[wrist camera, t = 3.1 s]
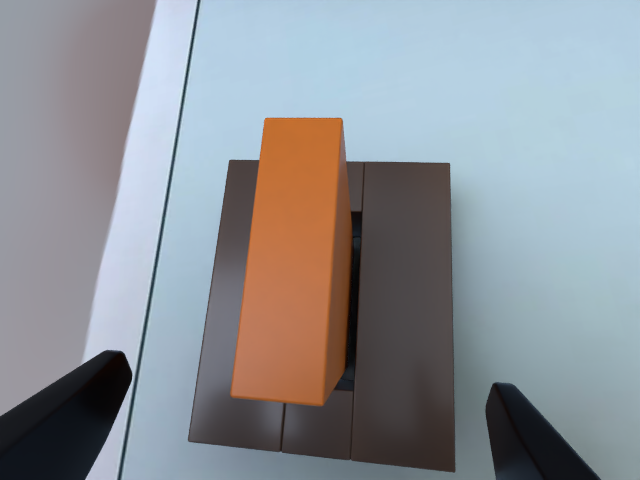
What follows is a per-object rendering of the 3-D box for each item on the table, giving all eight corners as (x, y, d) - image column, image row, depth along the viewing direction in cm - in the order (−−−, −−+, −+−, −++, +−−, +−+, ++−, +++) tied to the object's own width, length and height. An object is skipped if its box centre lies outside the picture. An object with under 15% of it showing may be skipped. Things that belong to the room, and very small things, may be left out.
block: (354, 247, 20) (342, 116, 8) (348, 366, 18) (323, 407, 7) (320, 246, 20) (264, 116, 9) (311, 363, 19) (228, 398, 7)
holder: (433, 196, 20) (450, 162, 16) (434, 443, 17) (455, 473, 13) (252, 192, 21) (228, 159, 18) (223, 421, 18) (186, 442, 14)
